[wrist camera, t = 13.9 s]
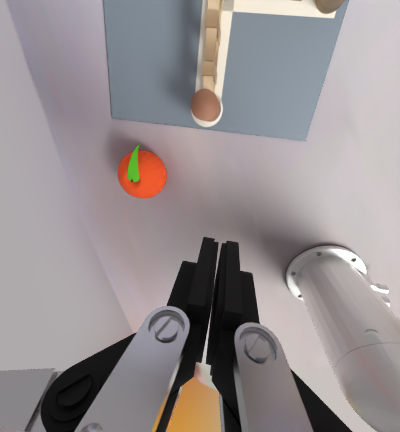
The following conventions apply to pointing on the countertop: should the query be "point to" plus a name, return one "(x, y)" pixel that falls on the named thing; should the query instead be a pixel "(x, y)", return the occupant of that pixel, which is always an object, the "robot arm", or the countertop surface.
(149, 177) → the clementine
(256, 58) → the card
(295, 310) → the countertop surface
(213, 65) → the fence panel
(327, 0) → the fence fixed section
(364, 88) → the countertop surface
